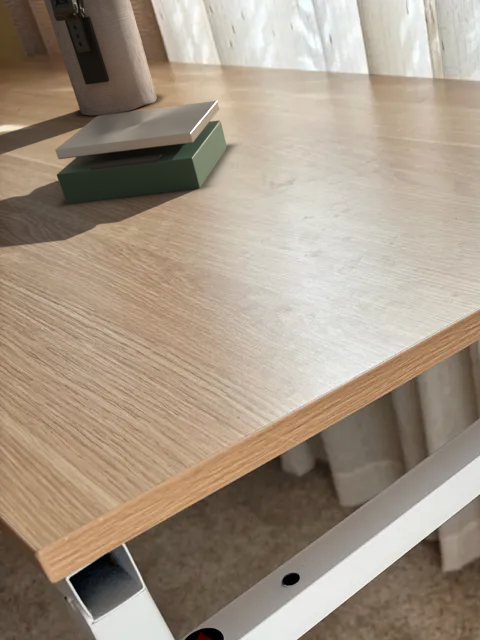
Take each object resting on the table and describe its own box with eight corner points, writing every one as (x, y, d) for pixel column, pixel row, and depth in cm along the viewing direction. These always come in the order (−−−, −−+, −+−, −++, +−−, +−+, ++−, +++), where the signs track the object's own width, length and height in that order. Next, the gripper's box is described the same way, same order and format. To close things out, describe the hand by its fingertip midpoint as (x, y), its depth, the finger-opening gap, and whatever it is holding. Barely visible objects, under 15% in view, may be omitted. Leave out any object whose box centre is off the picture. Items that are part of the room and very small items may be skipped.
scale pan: (58, 159, 70) (54, 149, 70) (99, 124, 80) (97, 115, 79) (193, 142, 69) (190, 132, 69) (219, 109, 79) (217, 100, 78)
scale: (66, 204, 71) (54, 171, 70) (110, 162, 81) (100, 132, 80) (200, 188, 70) (191, 154, 69) (227, 147, 80) (220, 117, 78)
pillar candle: (85, 105, 106) (39, -34, 97) (159, 92, 107) (121, -47, 98) (77, 121, 99) (26, -28, 89) (157, 107, 100) (115, -42, 90)
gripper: (33, -172, 78) (113, 89, 92) (102, -167, 95) (161, 53, 109) (-42, -160, 78) (50, 97, 92) (40, -157, 95) (107, 60, 109)
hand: (110, 73), depth 101 cm, fingers closed on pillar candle, 10 cm apart
